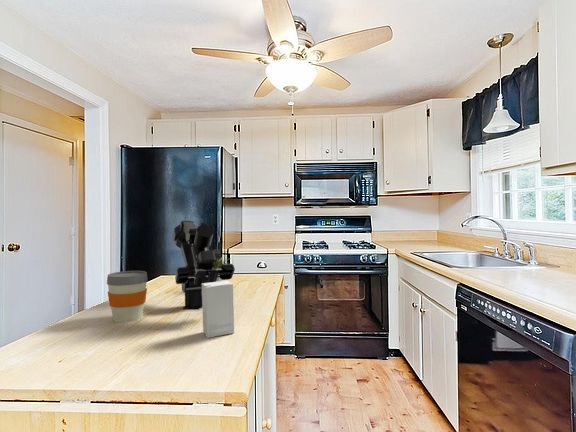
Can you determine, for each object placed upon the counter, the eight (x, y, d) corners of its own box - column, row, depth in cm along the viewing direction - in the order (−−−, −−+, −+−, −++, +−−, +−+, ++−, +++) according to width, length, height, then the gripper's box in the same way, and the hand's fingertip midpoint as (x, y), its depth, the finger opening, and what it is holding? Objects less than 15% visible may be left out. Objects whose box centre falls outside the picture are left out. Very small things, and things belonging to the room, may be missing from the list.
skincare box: (229, 328, 108) (228, 279, 108) (235, 334, 103) (234, 283, 103) (201, 332, 105) (201, 282, 105) (206, 338, 99) (205, 285, 99)
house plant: (227, 294, 154) (227, 256, 154) (196, 294, 154) (195, 256, 154) (233, 287, 168) (233, 252, 168) (204, 287, 168) (204, 253, 168)
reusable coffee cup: (156, 315, 122) (155, 272, 122) (125, 325, 111) (125, 278, 111) (129, 311, 128) (129, 269, 127) (98, 321, 116) (97, 275, 116)
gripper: (176, 242, 113) (182, 282, 103) (232, 240, 121) (243, 277, 111) (172, 264, 120) (178, 303, 110) (226, 260, 128) (236, 297, 118)
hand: (209, 295), depth 112 cm, fingers closed
